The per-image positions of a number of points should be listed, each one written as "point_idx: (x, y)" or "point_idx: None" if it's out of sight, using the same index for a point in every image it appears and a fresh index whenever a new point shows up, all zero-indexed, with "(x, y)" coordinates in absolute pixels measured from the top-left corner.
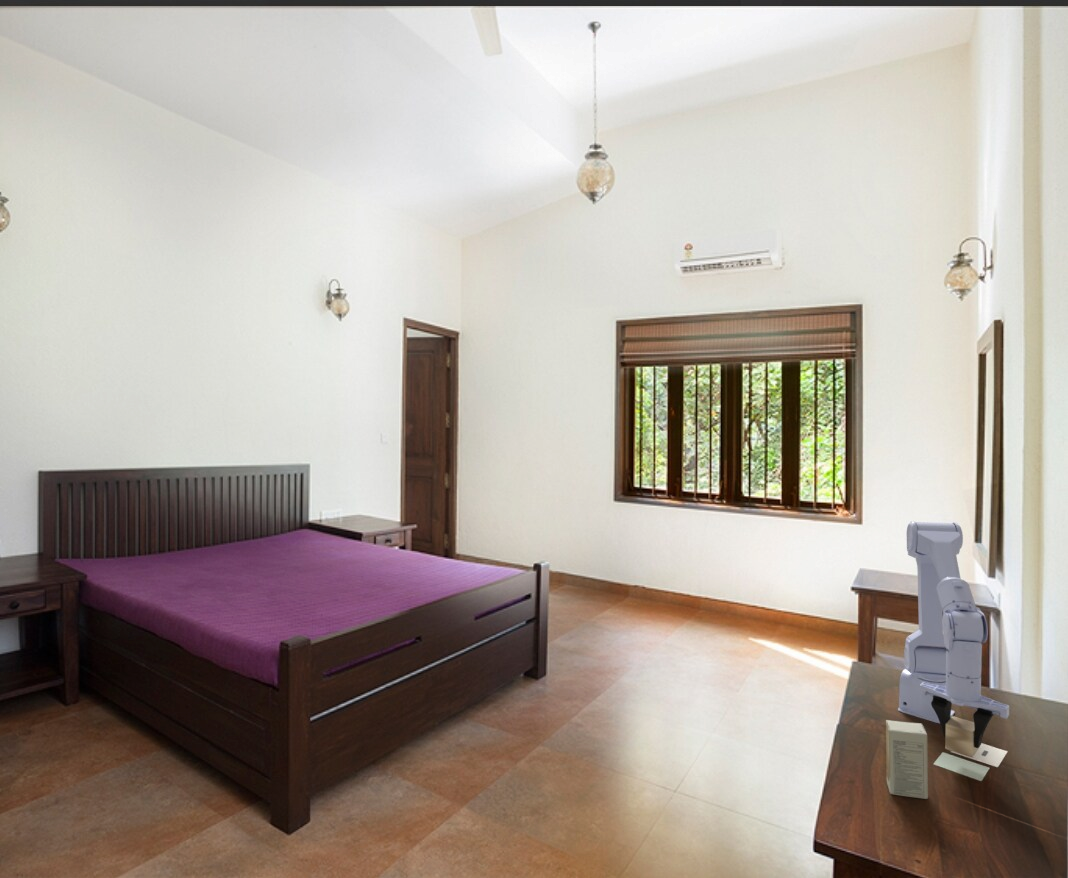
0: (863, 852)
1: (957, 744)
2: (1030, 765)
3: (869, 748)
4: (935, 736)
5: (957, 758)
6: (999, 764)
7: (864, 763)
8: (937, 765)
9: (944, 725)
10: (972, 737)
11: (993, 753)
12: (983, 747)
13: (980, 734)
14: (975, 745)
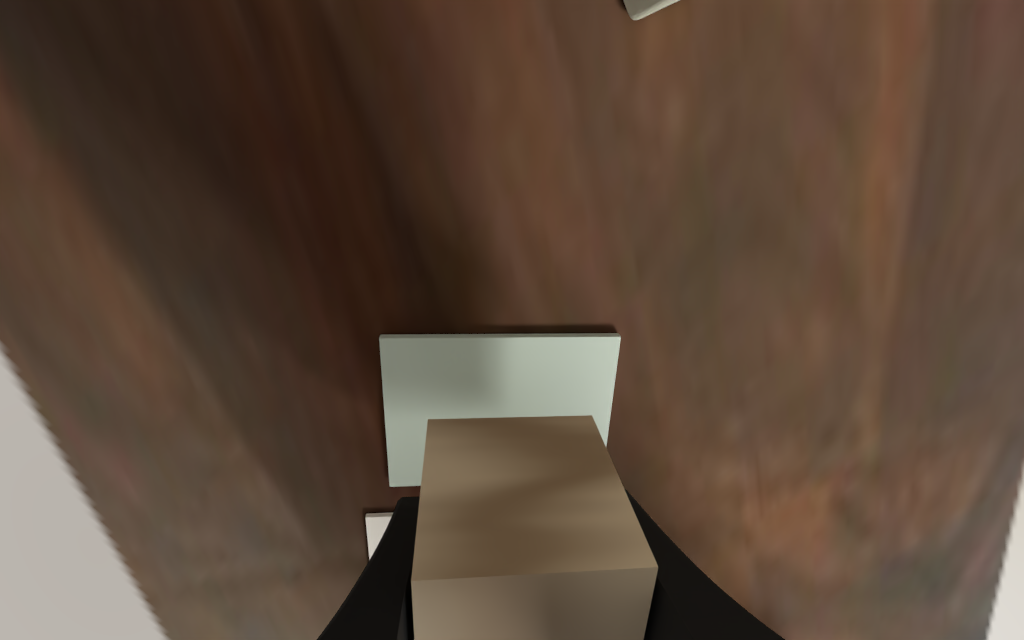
0: None
1: (526, 455)
2: (273, 620)
3: (931, 277)
4: None
5: None
6: (368, 545)
7: (966, 72)
8: (599, 336)
9: (658, 560)
10: (417, 534)
11: None
12: None
13: (351, 595)
14: (412, 506)
